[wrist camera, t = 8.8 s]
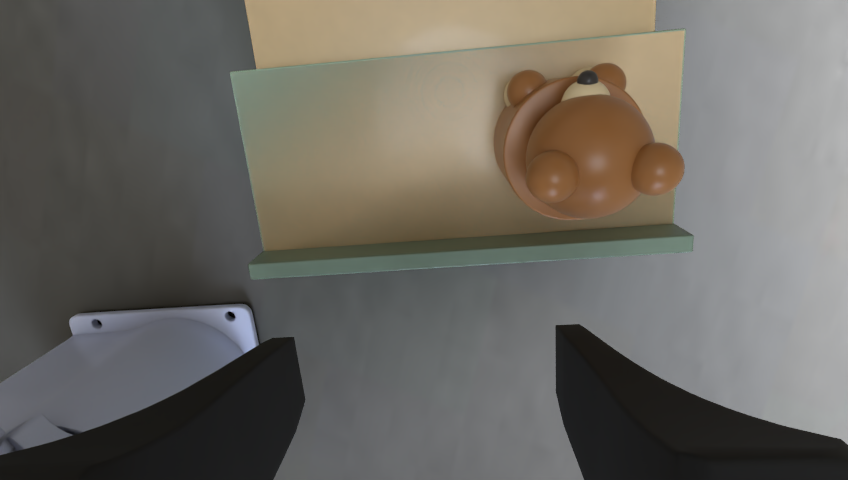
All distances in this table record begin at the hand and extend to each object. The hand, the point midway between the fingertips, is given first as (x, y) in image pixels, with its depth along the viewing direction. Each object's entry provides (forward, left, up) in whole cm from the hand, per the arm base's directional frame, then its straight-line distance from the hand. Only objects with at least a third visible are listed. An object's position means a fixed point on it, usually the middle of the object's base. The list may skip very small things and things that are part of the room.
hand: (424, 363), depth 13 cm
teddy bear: (+5, +5, -5) cm, 9 cm away
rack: (+1, +8, -10) cm, 13 cm away
